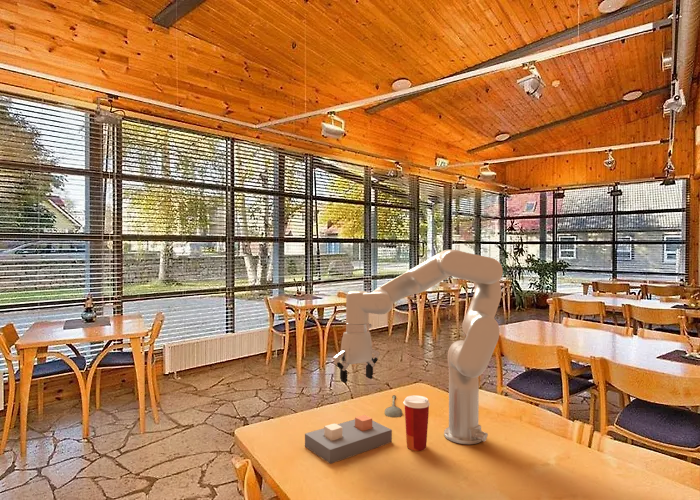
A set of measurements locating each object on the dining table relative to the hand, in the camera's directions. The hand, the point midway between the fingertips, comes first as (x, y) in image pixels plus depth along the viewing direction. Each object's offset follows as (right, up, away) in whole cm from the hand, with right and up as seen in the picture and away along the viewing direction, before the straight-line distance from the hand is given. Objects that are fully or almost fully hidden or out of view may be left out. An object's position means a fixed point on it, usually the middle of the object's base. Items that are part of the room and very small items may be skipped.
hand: (356, 379), depth 145 cm
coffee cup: (+19, -19, -8) cm, 28 cm away
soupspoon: (+15, -20, +28) cm, 37 cm away
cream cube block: (-7, -16, -10) cm, 20 cm away
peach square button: (+2, -16, -2) cm, 16 cm away
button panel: (-3, -19, -6) cm, 20 cm away
